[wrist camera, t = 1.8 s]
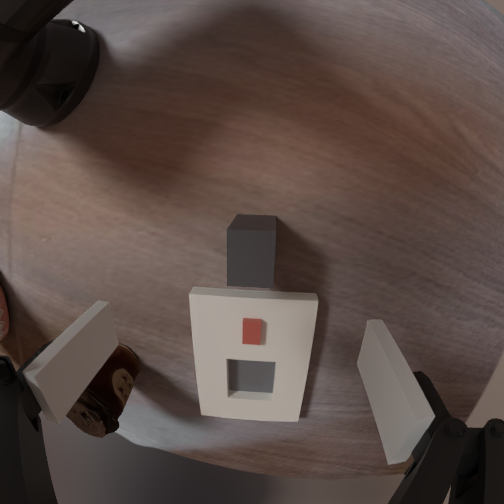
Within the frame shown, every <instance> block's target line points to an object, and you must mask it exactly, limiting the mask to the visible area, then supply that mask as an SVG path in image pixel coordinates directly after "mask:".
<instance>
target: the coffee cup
mask: <svg viewBox="0 0 504 504" xmlns="http://www.w3.org/2000/svg"><path fill="white" fill-rule="evenodd" d="M139 370H140V366H139V362H138V360H137V358H136V357H135V355H134V353H133V352H132V351H130V350H129V348H128V347H126V346H125V345H121V344H120V343H118V346H117V348H116V349H115V350H114V351H113V353H112V354H111V355H110V357H109V358H108V359H107V360H106V362H105V363H104V364H103V366H102V367H101V368H100V370H99V371H98V372H97V374H96V375H95V376H94V378H93V379H92V380H91V382H90V383H89V384H88V386H87V387H86V388H85V390H84V391H83V392H82V394H81V395H80V397H79V398H78V399H77V401H76V402H75V403H74V405H73V406H72V408H71V409H70V410H69V412H68V413H67V415H66V416H67V417H68V418H69V419H70V420H71V421H72V422H73V423H74V424H75V425H76V426H77V427H78V428H80V429H81V430H82V431H83V432H85V433H87V434H89V435H92V436H95V437H101V438H102V437H103V436H105V435H107V434H108V433H112V432H115V431H116V430H117V429H118V428H119V422H118V418H119V416H120V415H121V414H122V412H123V409H124V407H125V405H126V402H127V400H128V398H129V395H130V393H131V390H132V388H133V385H134V381H135V377H136V376H137V374H138V373H139Z"/></svg>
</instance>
